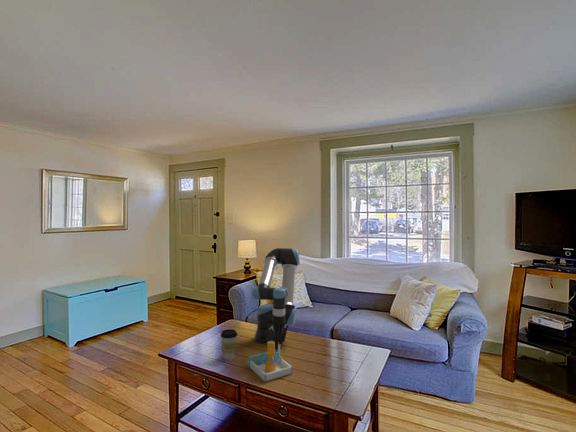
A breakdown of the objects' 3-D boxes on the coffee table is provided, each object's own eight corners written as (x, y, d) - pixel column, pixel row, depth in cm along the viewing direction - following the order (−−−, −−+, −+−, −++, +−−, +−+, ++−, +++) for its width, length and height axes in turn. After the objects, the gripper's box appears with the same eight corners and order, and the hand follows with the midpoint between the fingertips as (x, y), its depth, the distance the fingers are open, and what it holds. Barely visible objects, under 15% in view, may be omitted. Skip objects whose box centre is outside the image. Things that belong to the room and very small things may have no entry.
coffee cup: (233, 361, 176) (233, 335, 177) (217, 359, 178) (217, 334, 179) (239, 354, 186) (239, 329, 186) (224, 352, 188) (224, 328, 188)
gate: (275, 358, 182) (275, 347, 182) (277, 359, 180) (277, 349, 180) (247, 365, 172) (248, 354, 172) (249, 366, 170) (249, 355, 171)
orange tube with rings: (284, 367, 170) (284, 340, 170) (277, 376, 160) (278, 347, 160) (263, 363, 174) (264, 337, 174) (256, 372, 164) (256, 344, 164)
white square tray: (273, 358, 182) (273, 352, 182) (292, 373, 164) (292, 366, 164) (247, 365, 173) (247, 358, 173) (264, 381, 155) (264, 375, 155)
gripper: (284, 311, 189) (284, 349, 188) (266, 314, 182) (265, 354, 181) (291, 314, 182) (290, 354, 182) (272, 318, 175) (271, 359, 175)
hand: (278, 354), depth 182 cm, fingers closed
